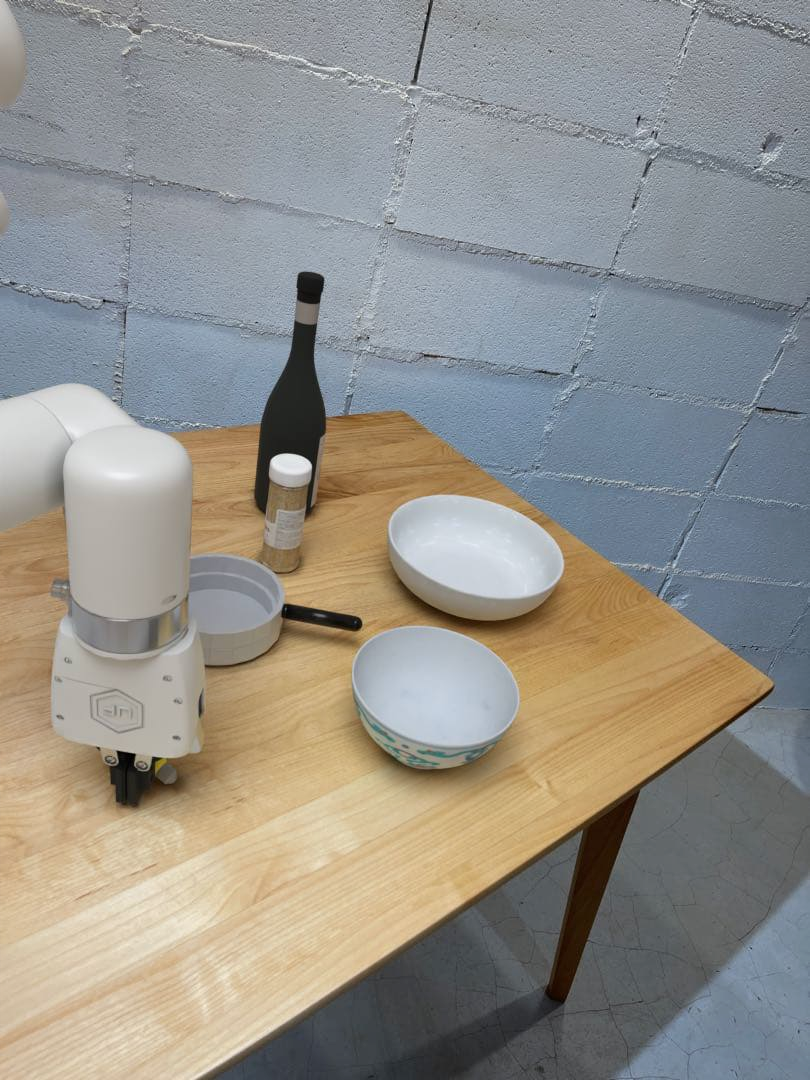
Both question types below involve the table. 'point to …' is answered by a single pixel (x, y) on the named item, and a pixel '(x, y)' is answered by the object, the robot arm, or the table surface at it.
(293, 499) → the spice jar
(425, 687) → the chinaware
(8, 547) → the table surface
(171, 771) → the light bulb
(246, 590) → the pan
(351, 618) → the pan handle
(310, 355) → the wine bottle
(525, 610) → the serving bowl
